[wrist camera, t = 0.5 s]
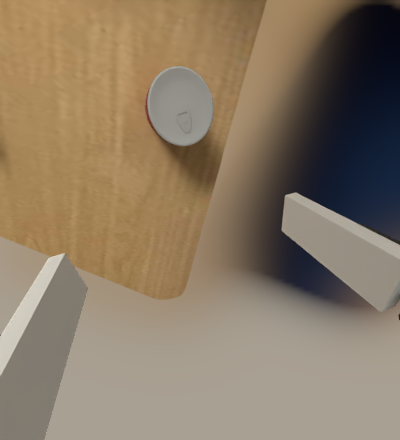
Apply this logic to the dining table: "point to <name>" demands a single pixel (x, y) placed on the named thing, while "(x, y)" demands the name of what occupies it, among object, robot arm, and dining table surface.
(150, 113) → the canned food
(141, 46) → the dining table surface
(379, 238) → the robot arm
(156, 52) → the dining table surface
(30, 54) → the dining table surface
